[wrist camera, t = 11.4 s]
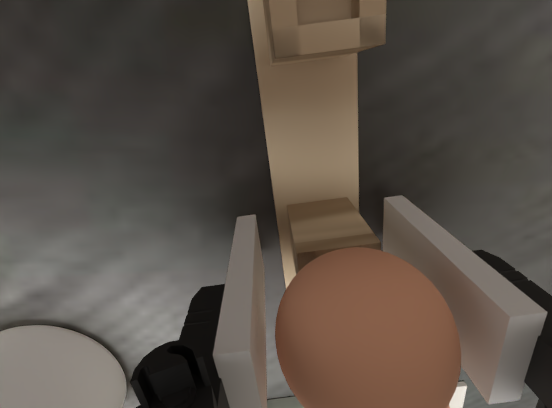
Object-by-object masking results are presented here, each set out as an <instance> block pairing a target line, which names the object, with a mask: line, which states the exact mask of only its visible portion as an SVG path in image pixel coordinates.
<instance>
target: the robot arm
mask: <svg viewBox="0 0 552 408" xmlns="http://www.w3.org/2000/svg"><path fill="white" fill-rule="evenodd" d="M383 251H384V252H387V253H390V254H392V255H394V256H397V257H399V258H401V259H403V260H405V261H406V262H408V263H409V264H411V265H412V266H414V267H415V268H417V269H418V270H419V271H420V272H421V273H423V274H424V275H425V276H426V277H427V278H428V279H429V280H430V281H431V282H432V283H433V284H434V286H435V287H436V288H437V289H438V291H439V292H440V294H441V295H442V296H443V298H444V299H445V301H446V303H447V305H448V307H449V309H450V311H451V313H452V315H453V318H454V321H455V324H456V327H457V330H458V334H459V339H460V347H461V366H462V368H463V369H464V371H465V372H466V373H467V375H468V376H469V378H470V379H471V381H472V382H473V383H474V385H475V386H476V388H477V389H478V390H479V392H480V393H481V395H482V396H483V398H484V399H485V400H486V402H487V403H488V404H494V403H502V402H510V401H518V400H520V398H521V395H522V392H523V389H524V385H525V383H526V384H527V385H528V386H529V388H530V389H531V390H532V391H533V392H534V393H535V394H536V396H537V397H538V398H539V400H538V402H537V405H536V408H552V296H551V295H550V294H548V293H547V292H546V291H544V290H543V289H542V288H540V287H539V286H538V285H536V284H535V283H533V282H532V281H531V280H530V281H528V279H527V277H525V276H524V275H523V274H521V273H520V272H519V271H515V268H513V267H512V266H510V265H509V264H508V263H506V262H505V261H504V260H502V259H501V258H499V257H497V256H495V255H492V254H490V253H488V252H485V251H483V250H476V251H471V250H470V249H468V248H467V247H466V246H465V245H464V244H462V243H461V242H460V241H459V240H457V239H456V238H455V237H454V236H452V235H451V234H450V233H449V232H447V231H446V230H445V229H444V228H442V227H441V226H440V225H439V224H437V223H436V222H435V221H434V220H433V219H431V218H430V217H429V216H428V215H426V214H425V213H424V212H423V211H421V210H420V209H419V208H418V207H416V206H415V205H414V204H413V203H411V202H410V201H409V200H408V199H406V198H405V197H404V196H403V195H400V196H393V197H385V198H384V218H383ZM130 383H131V385H132V387H133V389H134V391H135V394H136V396H137V398H138V400H139V402H140V404H141V405H140V406H138V407H136V408H267V377H266V323H265V269H264V263H263V257H262V251H261V245H260V239H259V233H258V227H257V221H256V215H247V216H239V217H237V220H236V226H235V232H234V237H233V243H232V249H231V254H230V260H229V266H228V271H227V277H226V283H225V284H222V285H214V286H206V287H201V289H200V290H199V291H198V292H197V294H196V295H195V296H194V297H193V298H192V300H191V303H190V307H189V310H188V315H187V316H186V319H185V322H184V326H183V329H182V332H181V335H180V338H179V340H177V341H172V342H167V343H165V344H163V345H161V346H159V347H157V348H155V349H154V350H152V351H151V352H150V353H149V354H148V355H146V356H145V357H144V358H143V359H142V360H141V362H140V363H139V364H138V366H137V367H136V368H135V370H134V372H133V375H132V378H131V381H130Z"/></svg>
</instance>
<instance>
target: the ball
mask: <svg viewBox="0 0 552 408" xmlns="http://www.w3.org/2000/svg"><path fill="white" fill-rule="evenodd" d="M275 339H276V349H277V355H278V359H279V362H280V366H281V369H282V372H283V374H284V376H285V378H286V381H287V383H288V385H289V387H290V389H291V390H292V392H293V393H294V395H295V396H296V398H297V399H298V401H299V402H300V403H301V405H302V406H303V407H304V408H447V406H448V405H449V403H450V401H451V399H452V397H453V395H454V393H455V390H456V387H457V384H458V379H459V375H460V369H461V347H460V339H459V334H458V330H457V327H456V324H455V321H454V318H453V315H452V313H451V311H450V309H449V307H448V305H447V303H446V301H445V299H444V298H443V296H442V295H441V294H440V292H439V291H438V289H437V288H436V287H435V286H434V284H433V283H432V282H431V281H430V280H429V279H428V278H427V277H426V276H425V275H424V274H423V273H421V272H420V271H419V270H418V269H417V268H415V267H414V266H412V265H411V264H409V263H408V262H406V261H405V260H403V259H401V258H399V257H397V256H394V255H392V254H390V253H387V252H384V251H381V250H376V249H371V248H363V247H352V248H344V249H338V250H334V251H331V252H328V253H326V254H323V255H321V256H319V257H317V258H316V259H314V260H312V261H311V262H310V263H308V264H307V265H305V266H304V267H303V268H302V269H301V270H300V271H299V272H298V273H297V274H296V276H295V277H294V278H293V279H292V281H291V282H290V284H289V285H288V287H287V288H286V290H285V293H284V295H283V297H282V300H281V302H280V305H279V309H278V313H277V318H276V327H275Z"/></svg>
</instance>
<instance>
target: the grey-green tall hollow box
mask: <svg viewBox="0 0 552 408" xmlns="http://www.w3.org/2000/svg"><path fill="white" fill-rule="evenodd" d="M267 408H304V407H303V406H302V405H301V403H300V402H299V401H298V399H297V398H296V396H295V397H287V398H279V399H271V400H267Z"/></svg>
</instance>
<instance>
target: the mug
mask: <svg viewBox="0 0 552 408" xmlns="http://www.w3.org/2000/svg"><path fill="white" fill-rule="evenodd" d="M126 392H127V387H126V378H125V374H124V372H123V370H122V368H121V366H120V364H119V363H118V361H117V359H116V358H115V357H114V356H113V355H112V354H111V353H110V352H109V351H108V350H107V349H106V348H105V347H104V346H102V345H101V344H100V343H98V342H97V341H95V340H93V339H91V338H90V337H87V336H85V335H83V334H81V333H78V332H75V331H73V330H69V329H65V328H61V327H55V326H46V325H29V326H20V327H14V328H9V329H6V330H3V331H0V408H122V407H123V404H124V401H125V397H126Z"/></svg>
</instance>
